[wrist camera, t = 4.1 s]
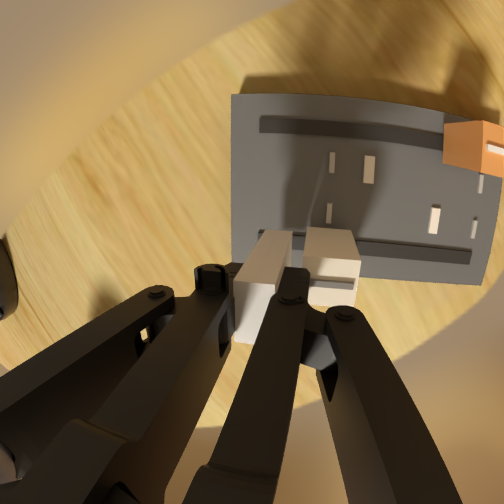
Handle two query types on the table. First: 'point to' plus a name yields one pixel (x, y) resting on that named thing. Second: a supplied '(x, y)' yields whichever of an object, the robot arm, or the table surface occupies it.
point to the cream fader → (331, 266)
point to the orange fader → (475, 146)
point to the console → (360, 184)
